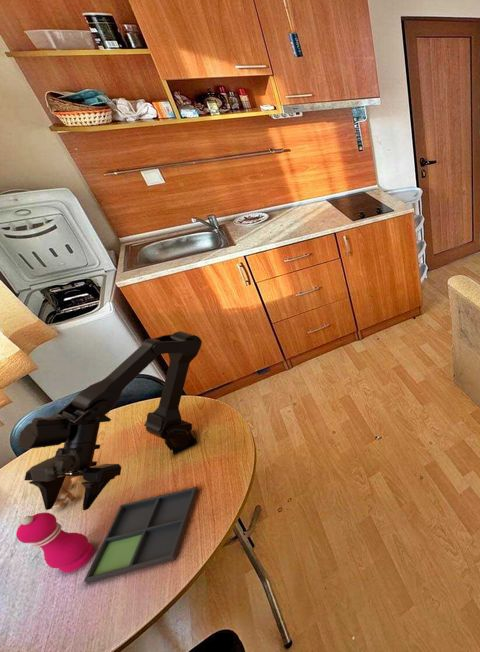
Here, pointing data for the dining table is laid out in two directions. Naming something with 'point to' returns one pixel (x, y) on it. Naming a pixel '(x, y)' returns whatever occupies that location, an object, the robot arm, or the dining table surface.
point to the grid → (143, 535)
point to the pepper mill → (55, 542)
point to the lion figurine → (65, 492)
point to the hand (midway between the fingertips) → (67, 509)
